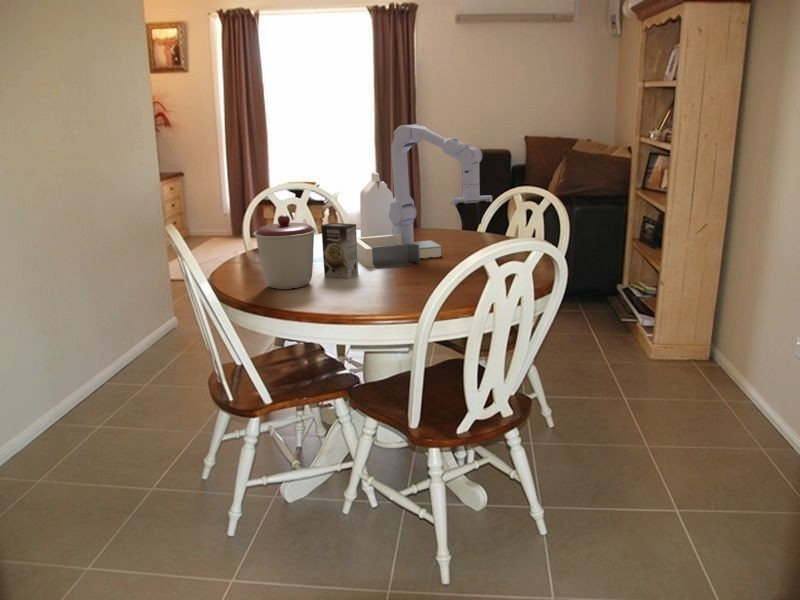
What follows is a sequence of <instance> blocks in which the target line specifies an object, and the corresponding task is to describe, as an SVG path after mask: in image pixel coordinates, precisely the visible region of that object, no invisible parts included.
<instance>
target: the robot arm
mask: <svg viewBox="0 0 800 600" xmlns="http://www.w3.org/2000/svg"><path fill="white" fill-rule="evenodd" d="M422 141H424V142H427V143H429V144H432V145H434V146H437V147H438V148H440V149H442V151H443V154H445V155H448V157H451V158H453V159H455V160H457V161H459V164H460V165H461V173H462V174H461V177H462V181H461V182H462V196H459V197H451V198H449V205H454V206H455V209H456V210H457V212H458V214H459V216H460V217H459V218H460V220H461V224H462V226H466V225H467V208H468V206H467V204H472V203H473V204H474V203H475V208H476V209H475V210H476V223H477V224H478V225H481V224H482V220H483V218H484V217H483V216H484V213H485V212H486V209H487V207H488V203H490V202H491V203H492V202H493V195H481V194H480V193H481V192H480V190H481V189H480V187H481V186H480V163H481V161H482V160H483V152H482V150H481V149H480V148H479V147H478V146H470V144H469V143H464V142H462V141H460V140H459V138H458V137H456V136H453V137H448V138H445V137H443V136H442V135H440V134H438V133H436V132H435V131H433V130H431V129H429V128H428V127H427V126H424V125H421V124H419V123H414V124H401V125H399V126H398V127H397V128H396V129H395V130H394V131H393V140H392V143H391V146H390V147H391V148H390V149H391V150H390V151H391V163H392V164H391V165H392V166H391V167H392V179H393V180H392V181H393V194H394V195H393V200H392V202H391V203H390V211H389V218H390V220H391V222H392V224H393V227H392V235H397V234H401V243H402V244H407V242H415V241H414V240H415V239H414V222H415V219H416V217H417V215H418V213H417V209H416V206H415V201H414V199H413V198H412V197H411V196H410V193H411V192H410V180H409V165H408V163H409V162H408V152H409V151H410V149H411V148H413V147H414V145H417V144H418V143H420V142H422Z"/></svg>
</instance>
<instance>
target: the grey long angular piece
mask: <svg viewBox="0 0 800 600" xmlns="http://www.w3.org/2000/svg"><path fill="white" fill-rule="evenodd" d="M371 248H372V256H373V265H374V266H373V267H375V268H376V269H384V268H385V269H386V267H387V268H394V267H395V268H396V266H397V267H405V266H406V265H407V266H413V263H414V262H416V263H417V264H419V263H420V262H421V261H420V260H421V259H420V253H419V244H400V245H389V246H378V247H371ZM416 263H415V264H416Z"/></svg>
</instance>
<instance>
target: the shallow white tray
mask: <svg viewBox="0 0 800 600" xmlns="http://www.w3.org/2000/svg"><path fill="white" fill-rule="evenodd" d="M400 244H402V243H401V234H397V235H384V236H373V237H362V238H361V237H357V258H358V261H359V262H360V263H361V264H363V265H364V266H365V267H366V266H367V267H366V268H373V267H374V266H373V256H372V248H371V247H378V246H389V245H400Z"/></svg>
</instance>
